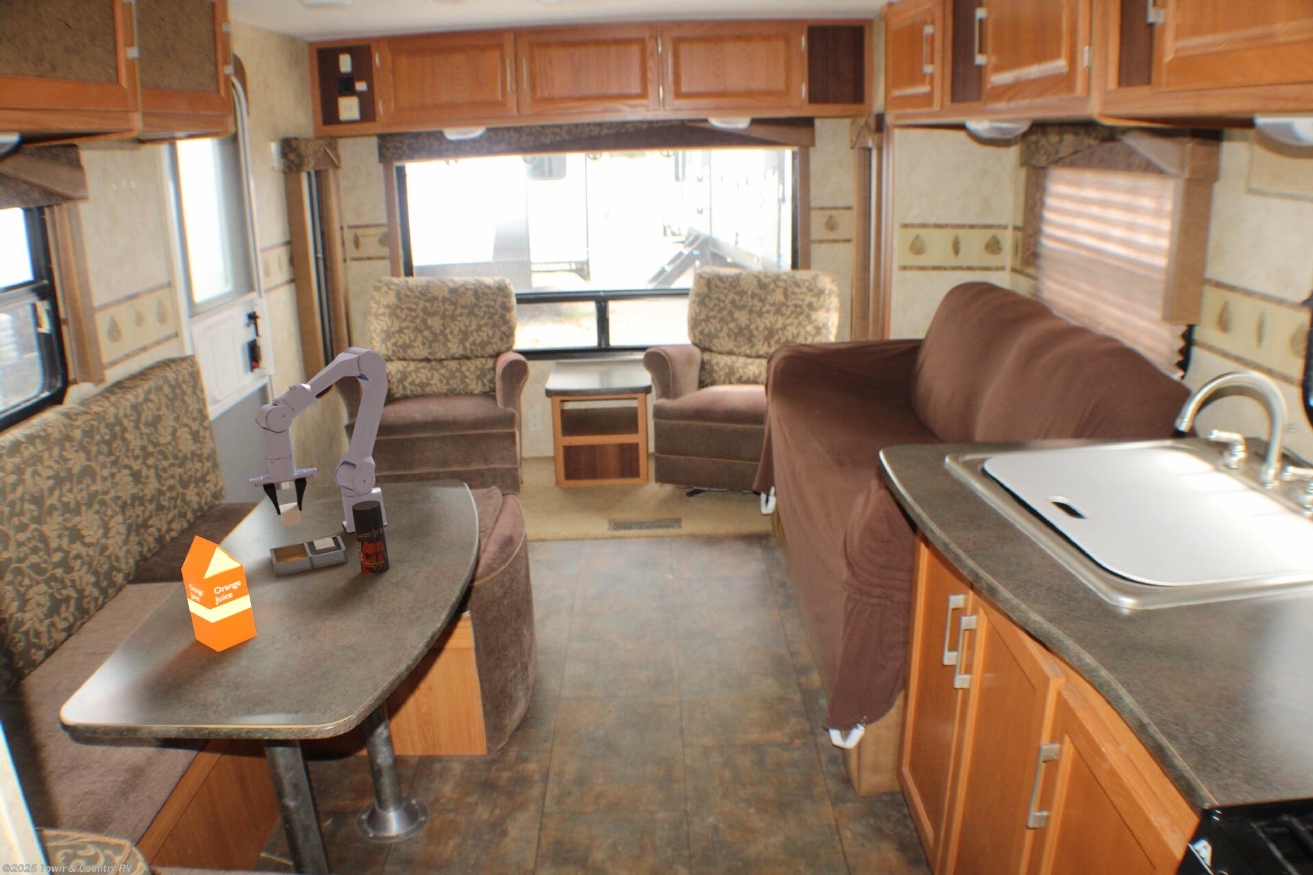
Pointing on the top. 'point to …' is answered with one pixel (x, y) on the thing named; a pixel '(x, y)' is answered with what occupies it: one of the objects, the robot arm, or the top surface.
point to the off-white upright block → (290, 514)
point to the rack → (308, 555)
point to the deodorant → (370, 537)
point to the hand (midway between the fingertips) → (289, 511)
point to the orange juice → (217, 596)
